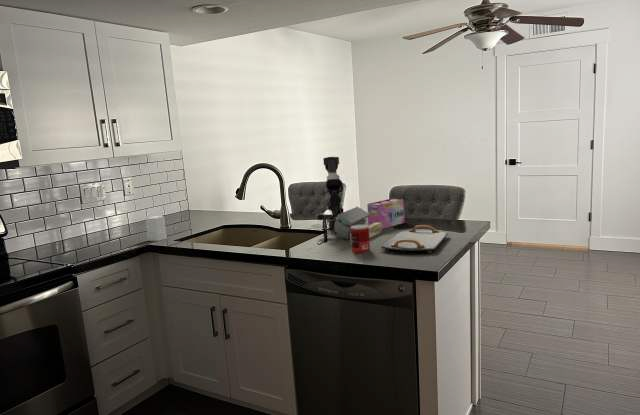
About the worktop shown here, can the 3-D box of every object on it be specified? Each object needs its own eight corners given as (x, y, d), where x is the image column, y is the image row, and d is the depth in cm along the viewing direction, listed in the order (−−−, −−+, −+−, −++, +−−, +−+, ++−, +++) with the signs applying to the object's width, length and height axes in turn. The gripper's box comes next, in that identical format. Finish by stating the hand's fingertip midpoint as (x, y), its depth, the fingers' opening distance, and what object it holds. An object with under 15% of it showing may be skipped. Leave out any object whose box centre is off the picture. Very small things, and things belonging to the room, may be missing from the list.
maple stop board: (350, 244, 222) (349, 233, 221) (376, 231, 247) (375, 222, 246) (356, 244, 220) (355, 234, 219) (381, 231, 246) (381, 222, 245)
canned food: (371, 249, 209) (370, 224, 208) (367, 253, 202) (366, 228, 200) (354, 249, 212) (353, 224, 210) (349, 253, 204) (348, 228, 203)
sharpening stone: (348, 224, 252) (357, 206, 248) (361, 231, 249) (370, 214, 245) (328, 234, 229) (337, 214, 226) (342, 242, 227) (351, 223, 223)
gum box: (395, 221, 273) (394, 197, 271) (406, 222, 267) (405, 198, 266) (368, 228, 257) (366, 203, 255) (379, 230, 251) (378, 204, 249)
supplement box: (167, 238, 268) (164, 215, 266) (157, 241, 261) (155, 218, 260) (157, 237, 271) (154, 215, 269) (147, 240, 264) (144, 218, 263)
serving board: (433, 257, 191) (433, 242, 190) (378, 255, 201) (377, 240, 200) (450, 236, 226) (449, 223, 225) (401, 235, 235) (401, 223, 235)
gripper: (310, 205, 238) (312, 236, 240) (343, 205, 228) (345, 238, 230) (321, 201, 247) (323, 231, 249) (354, 202, 238) (355, 233, 240)
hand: (336, 233), depth 242 cm, fingers closed, pressing on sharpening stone
